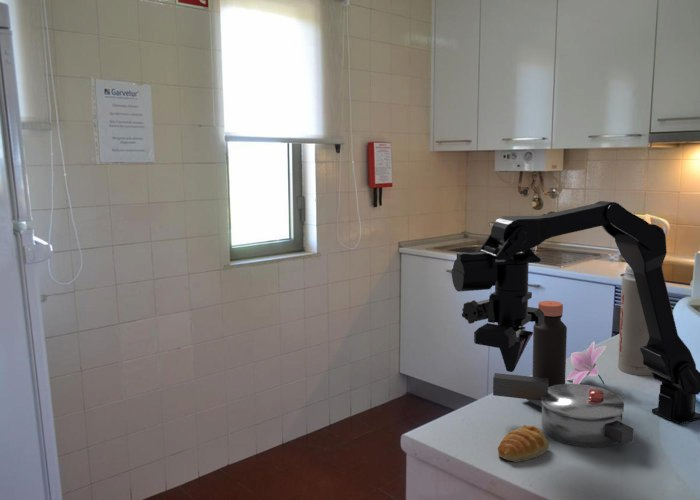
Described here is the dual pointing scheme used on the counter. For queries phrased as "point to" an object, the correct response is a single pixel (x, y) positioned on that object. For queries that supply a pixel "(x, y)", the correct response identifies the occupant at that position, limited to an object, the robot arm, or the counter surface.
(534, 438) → the pastry
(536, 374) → the vinegar
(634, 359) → the thermos bottle
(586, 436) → the pot
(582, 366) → the lily
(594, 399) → the lid
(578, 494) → the counter surface
